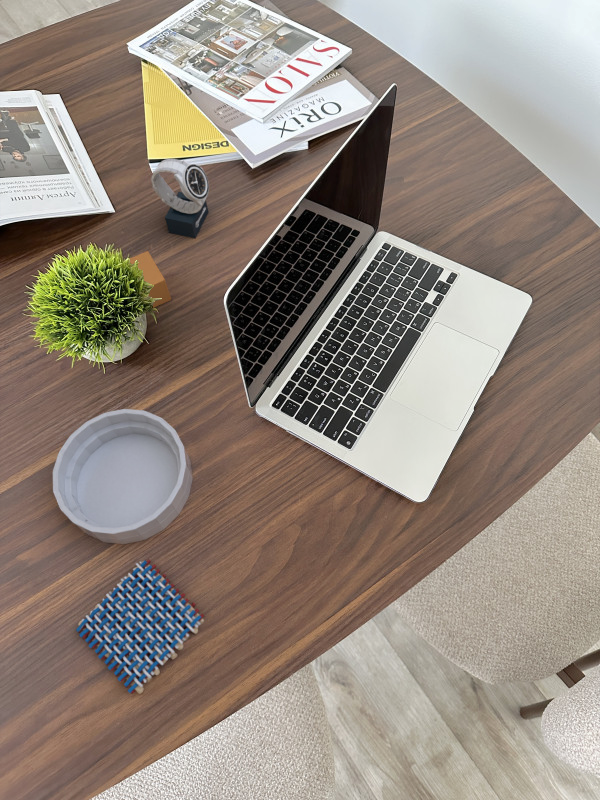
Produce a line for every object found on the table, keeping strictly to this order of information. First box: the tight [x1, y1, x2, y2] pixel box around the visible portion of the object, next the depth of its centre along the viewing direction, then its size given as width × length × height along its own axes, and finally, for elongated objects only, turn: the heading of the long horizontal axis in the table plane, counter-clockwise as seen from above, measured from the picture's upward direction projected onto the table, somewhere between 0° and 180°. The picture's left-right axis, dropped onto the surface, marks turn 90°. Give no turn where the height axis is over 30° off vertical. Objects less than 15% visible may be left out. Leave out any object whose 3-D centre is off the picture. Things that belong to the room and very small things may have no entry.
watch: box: [150, 158, 210, 239], centre depth 91 cm, size 6×8×11 cm
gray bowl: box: [52, 408, 193, 545], centre depth 74 cm, size 15×15×5 cm
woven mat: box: [75, 558, 205, 695], centre depth 68 cm, size 10×11×2 cm
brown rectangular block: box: [129, 250, 173, 309], centre depth 89 cm, size 3×8×4 cm, turn 30°
